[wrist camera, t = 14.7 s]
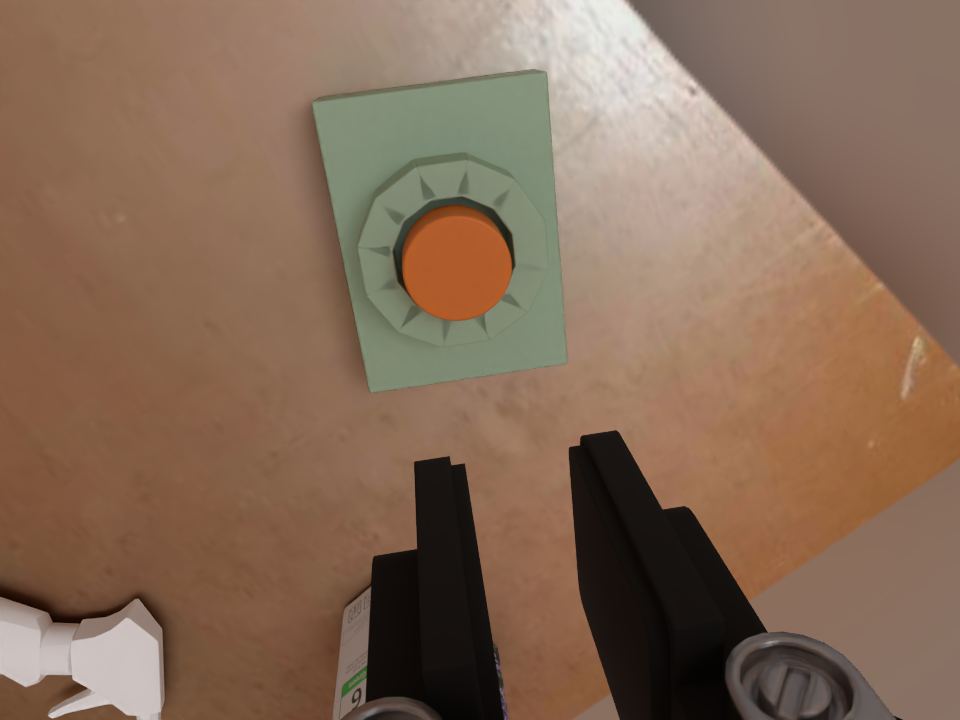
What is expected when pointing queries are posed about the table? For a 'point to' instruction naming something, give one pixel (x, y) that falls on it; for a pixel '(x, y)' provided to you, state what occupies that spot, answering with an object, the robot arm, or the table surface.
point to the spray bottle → (88, 657)
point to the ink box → (365, 659)
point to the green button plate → (439, 182)
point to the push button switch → (455, 263)
